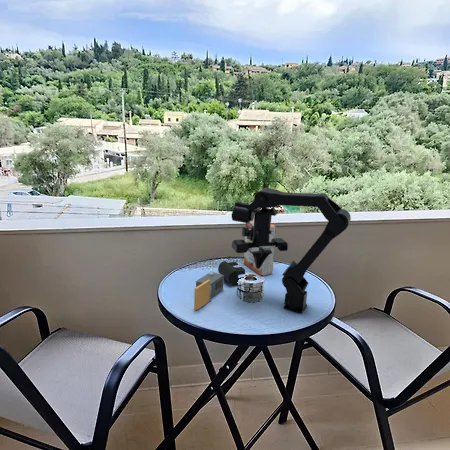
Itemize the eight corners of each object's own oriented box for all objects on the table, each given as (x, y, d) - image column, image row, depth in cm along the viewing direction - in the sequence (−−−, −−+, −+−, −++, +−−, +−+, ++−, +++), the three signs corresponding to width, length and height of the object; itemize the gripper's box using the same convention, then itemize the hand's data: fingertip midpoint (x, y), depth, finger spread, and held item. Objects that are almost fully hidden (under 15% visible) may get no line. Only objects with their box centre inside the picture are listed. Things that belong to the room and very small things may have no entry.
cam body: (223, 289, 158) (224, 273, 156) (209, 300, 150) (209, 282, 148) (210, 286, 161) (211, 269, 159) (195, 296, 153) (196, 278, 150)
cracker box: (242, 264, 182) (245, 217, 176) (254, 262, 185) (257, 216, 178) (260, 277, 170) (263, 227, 164) (272, 274, 173) (276, 225, 167)
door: (209, 300, 150) (209, 278, 147) (211, 301, 149) (212, 279, 147) (193, 310, 143) (194, 288, 140) (196, 311, 142) (196, 288, 139)
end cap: (217, 277, 169) (217, 261, 167) (233, 274, 172) (234, 259, 170) (228, 287, 160) (229, 271, 158) (245, 284, 163) (246, 268, 161)
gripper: (277, 218, 154) (273, 258, 159) (228, 219, 148) (225, 260, 153) (291, 227, 144) (285, 270, 149) (238, 229, 138) (235, 273, 143)
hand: (257, 268), depth 149 cm, fingers closed
